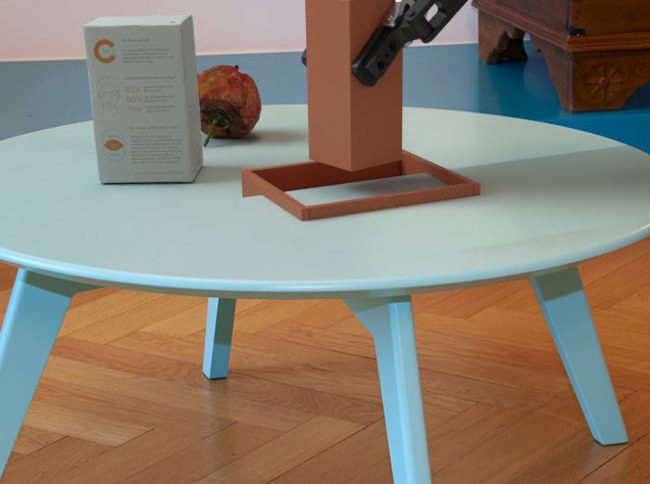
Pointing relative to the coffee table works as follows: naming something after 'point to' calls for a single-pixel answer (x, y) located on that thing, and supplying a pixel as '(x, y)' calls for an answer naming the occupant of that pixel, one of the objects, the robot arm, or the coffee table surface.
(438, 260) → the coffee table surface
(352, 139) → the terracotta block
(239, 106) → the red round fruit
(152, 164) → the small box
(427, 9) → the robot arm
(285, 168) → the terracotta frame
